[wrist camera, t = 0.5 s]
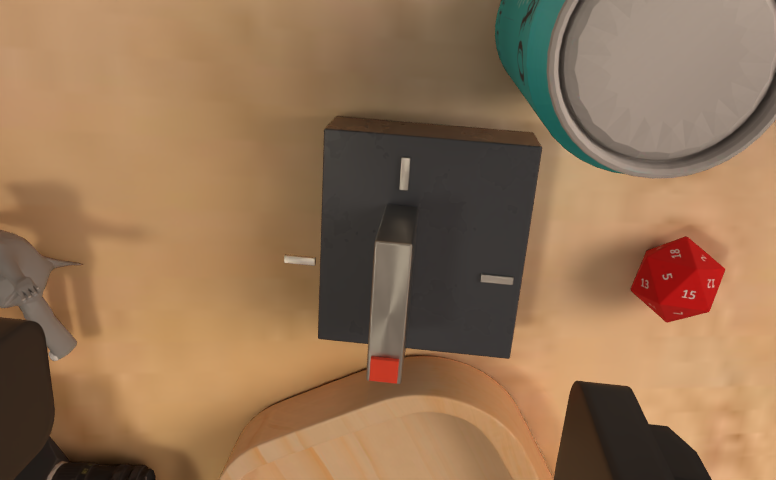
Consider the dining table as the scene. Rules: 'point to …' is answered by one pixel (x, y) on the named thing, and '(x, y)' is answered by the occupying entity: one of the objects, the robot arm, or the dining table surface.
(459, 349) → the dial block
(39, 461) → the camera
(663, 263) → the die
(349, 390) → the lamp
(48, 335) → the elephant figurine
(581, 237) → the dining table surface
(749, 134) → the beverage can
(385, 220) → the grey rectangular plate
